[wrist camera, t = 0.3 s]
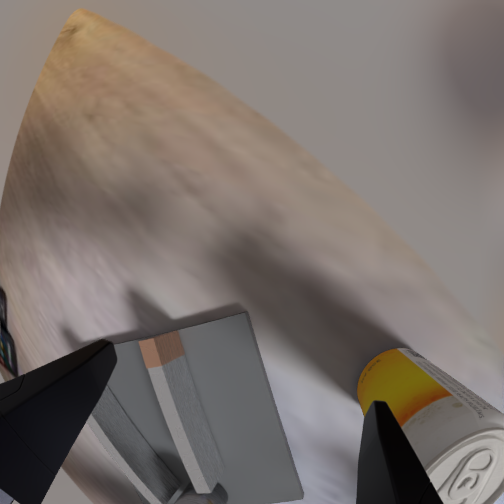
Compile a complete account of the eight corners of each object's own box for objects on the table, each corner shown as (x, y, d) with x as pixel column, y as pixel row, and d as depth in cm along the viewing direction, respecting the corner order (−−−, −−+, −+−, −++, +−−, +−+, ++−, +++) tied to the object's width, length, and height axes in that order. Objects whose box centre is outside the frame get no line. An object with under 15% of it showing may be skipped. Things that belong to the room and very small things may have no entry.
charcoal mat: (303, 492, 22) (303, 499, 21) (147, 499, 24) (143, 504, 24) (247, 311, 24) (244, 312, 23) (87, 350, 27) (81, 351, 26)
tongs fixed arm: (225, 468, 22) (211, 493, 18) (212, 469, 22) (196, 493, 18) (177, 330, 24) (153, 338, 20) (164, 333, 24) (138, 341, 20)
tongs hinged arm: (237, 501, 22) (225, 527, 18) (198, 513, 22) (184, 537, 18) (117, 347, 25) (88, 355, 21) (88, 370, 26) (60, 379, 22)
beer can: (344, 407, 22) (367, 536, 8) (372, 337, 22) (446, 412, 8) (409, 421, 21) (477, 534, 6) (437, 355, 21) (548, 423, 6)
